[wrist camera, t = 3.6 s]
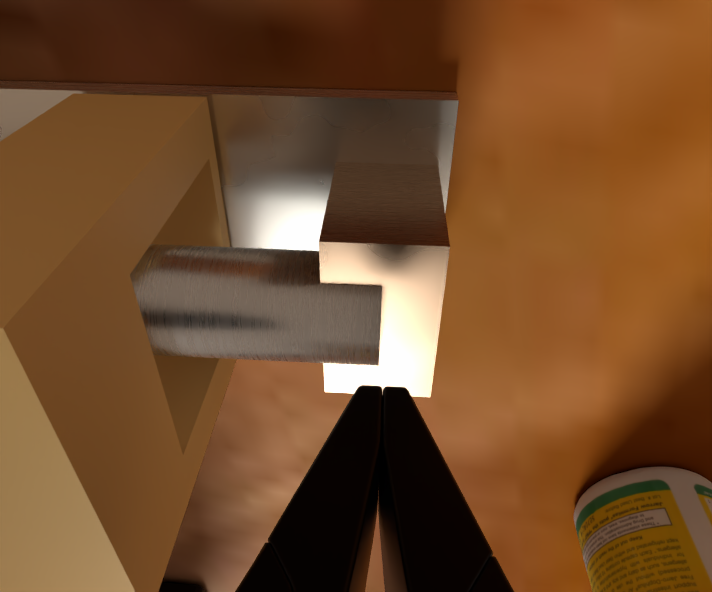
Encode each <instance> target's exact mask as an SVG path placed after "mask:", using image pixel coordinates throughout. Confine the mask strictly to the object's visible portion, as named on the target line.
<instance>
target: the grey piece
mask: <svg viewBox="0 0 712 592" xmlns="http://www.w3.org/2000/svg"><path fill="white" fill-rule="evenodd" d="M73 93H74V94H112V95H150V96H188V97H207V101H208V107H209V114H210V120H211V127H212V133H213V140H214V146H215V152H216V159H217V165H218V172H219V178H220V185H221V191H222V198H223V204H224V211H225V217H226V224H227V230H228V236H229V243H230V247H212V246H186V245H160V244H150V246H149V247H148V249H147V250H146V252H145V253H144V255H143V256H142V258H141V259H140V261H139V262H138V264H137V265H136V267H135V268H134V270H133V271H132V272H131V274H130V278H131V281H132V285H133V288H134V291H135V295H136V298H137V301H138V305H139V308H140V312H141V315H142V318H143V322H144V325H145V328H146V332H147V335H148V339H149V342H150V345H151V349H152V352H153V355H162V356H183V357H204V358H225V359H246V360H267V361H289V362H310V363H324V387H325V392H336V393H355V391H356V389H357V388H358V387H359V386H360V385H374V386H380V387H382V390H383V388H384V387H386V386H394V387H405V388H407V390H408V391H409V393H410V395H411V396H416V397H430V396H431V388H432V381H433V373H434V365H435V357H436V350H437V342H438V334H439V327H440V319H441V311H442V303H443V296H444V288H445V280H446V273H447V265H448V257H449V249H450V244H449V237H448V230H447V223H446V216H445V212H446V204H447V195H448V187H449V178H450V170H451V161H452V153H453V145H454V136H455V128H456V119H457V111H458V102H459V100H458V96H457V93H456V92H429V91H389V90H350V89H310V88H271V87H231V86H192V85H152V84H113V83H73V82H34V81H0V141H2V140H3V139H5V138H6V137H8V136H9V135H11V134H12V133H14V132H15V131H17V130H18V129H20V128H21V127H23V126H24V125H26V124H28V123H29V122H31V121H32V120H34V119H35V118H37V117H38V116H40V115H41V114H43V113H44V112H46V111H47V110H49V109H50V108H52V107H53V106H55V105H57V104H58V103H60V102H61V101H63V100H64V99H66V98H67V97H69V96H70V95H72V94H73Z"/></svg>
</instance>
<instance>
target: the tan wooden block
mask: <svg viewBox="0 0 712 592" xmlns="http://www.w3.org/2000/svg"><path fill="white" fill-rule="evenodd" d="M150 244H160V245H186V246H212V247H230V243H229V236H228V230H227V224H226V217H225V211H224V204H223V198H222V191H221V185H220V178H219V172H218V165H217V159H216V152H215V146H214V140H213V133H212V127H211V120H210V114H209V107H208V101H207V97H188V96H150V95H112V94H74V93H73V94H72V95H70V96H69V97H67V98H66V99H64V100H63V101H61V102H60V103H58V104H57V105H55V106H53V107H52V108H50V109H49V110H47V111H46V112H44V113H43V114H41V115H40V116H38V117H37V118H35V119H34V120H32V121H31V122H29V123H28V124H26V125H24V126H23V127H21V128H20V129H18V130H17V131H15V132H14V133H12V134H11V135H9V136H8V137H6V138H5V139H3V140H2V141H0V592H159V589H160V586H161V583H162V580H163V577H164V574H165V571H166V568H167V565H168V562H169V559H170V556H171V553H172V550H173V547H174V544H175V541H176V538H177V535H178V532H179V529H180V526H181V523H182V520H183V517H184V515H185V512H186V509H187V506H188V503H189V500H190V497H191V494H192V491H193V488H194V485H195V482H196V479H197V476H198V473H199V470H200V467H201V464H202V461H203V458H204V455H205V452H206V449H207V446H208V443H209V440H210V437H211V434H212V431H213V428H214V425H215V422H216V419H217V416H218V413H219V410H220V407H221V404H222V401H223V398H224V395H225V392H226V390H227V387H228V384H229V381H230V378H231V375H232V372H233V369H234V366H235V363H236V360H237V359H225V358H204V357H183V356H162V355H153V352H152V349H151V345H150V342H149V339H148V335H147V332H146V328H145V325H144V322H143V318H142V315H141V312H140V308H139V305H138V301H137V298H136V295H135V291H134V288H133V285H132V281H131V278H130V274H131V272H132V271H133V270H134V268H135V267H136V265H137V264H138V262H139V261H140V259H141V258H142V256H143V255H144V253H145V252H146V250H147V249H148V247H149V246H150Z"/></svg>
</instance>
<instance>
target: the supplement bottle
mask: <svg viewBox="0 0 712 592" xmlns="http://www.w3.org/2000/svg"><path fill="white" fill-rule="evenodd" d="M574 522H575V526H576V530H577V535H578V539H579V543H580V546H581V550H582V554H583V558H584V562H585V566H586V570H587V574H588V576H589V580H590V584H591V588H592V591H593V592H712V483H711V482H710V481H709V480H707V479H706V478H704V477H703V476H701V475H699V474H697V473H694V472H692V471H688V470H685V469H680V468H675V467H644V468H638V469H634V470H630V471H627V472H623V473H619V474H615V475H612V476H610V477H607V478H605V479H603V480H601V481H599V482H597V483H596V484H594V485H592V486H591V487H590V488H589V489H587V491H586V492H585V493H584V494H583V495H582V496H581V498H580V499H579V501H578V503H577V505H576V508H575V511H574Z"/></svg>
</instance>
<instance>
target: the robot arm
mask: <svg viewBox="0 0 712 592" xmlns="http://www.w3.org/2000/svg"><path fill="white" fill-rule="evenodd" d="M378 490H379V495H378ZM377 506H378V512H379V528H380V539H381V551H382V562H383V573H384V585H385V592H514V591H513V589H512V587H511V585H510V583H509V582H508V580H507V578H506V576H505V574H504V572H503V570H502V568H501V566H500V565H499V563H498V561H497V559H496V557H494V556H492V555H493V552H492V550H491V548H490V546H489V544H488V542H487V540H486V538H485V536H484V534H483V532H482V531H481V529H480V527H479V525H478V523H477V521H476V519H475V517H474V515H473V513H472V511H471V510H470V508H469V506H468V504H467V502H466V500H465V498H464V496H463V494H462V492H461V490H460V488H459V487H458V485H457V483H456V481H455V479H454V477H453V475H452V473H451V471H450V469H449V467H448V465H447V464H446V462H445V460H444V458H443V456H442V454H441V452H440V450H439V448H438V446H437V444H436V443H435V441H434V439H433V437H432V435H431V433H430V431H429V429H428V427H427V425H426V423H425V421H424V420H423V418H422V416H421V414H420V412H419V410H418V408H417V406H416V404H415V402H414V400H413V398H412V397H411V395H410V393H409V391H408V390H407V388H405V387H394V386H386V387H384V388H383V390H382V387H380V386H374V385H360V386H359V387H358V388H357V389H356V391H355V393H354V395H353V396H352V398H351V400H350V401H349V403H348V405H347V406H346V408H345V410H344V411H343V413H342V415H341V416H340V418H339V420H338V422H337V423H336V425H335V427H334V428H333V430H332V432H331V433H330V435H329V437H328V438H327V440H326V442H325V443H324V445H323V447H322V449H321V450H320V452H319V454H318V455H317V457H316V459H315V460H314V462H313V464H312V465H311V467H310V469H309V470H308V472H307V474H306V475H305V477H304V479H303V481H302V482H301V484H300V486H299V487H298V489H297V491H296V492H295V494H294V496H293V497H292V499H291V501H290V502H289V504H288V506H287V508H286V509H285V511H284V513H283V514H282V516H281V518H280V519H279V521H278V523H277V524H276V526H275V528H274V529H273V531H272V533H271V535H270V536H269V538H268V542H267V543H265V544H264V546H263V548H262V549H261V551H260V553H259V554H258V556H257V558H256V559H255V561H254V563H253V564H252V566H251V567H250V569H249V571H248V572H247V574H246V575H245V577H244V579H243V580H242V582H241V583H240V585H239V586H238V588H237V590H236V591H235V592H365V587H366V581H367V574H368V568H369V562H370V555H371V549H372V543H373V537H374V530H375V524H376V516H377ZM159 592H205V591H204V589H203V588H202V587H200V586H197V585H189V584H174V583H161V586H160V589H159Z"/></svg>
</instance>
